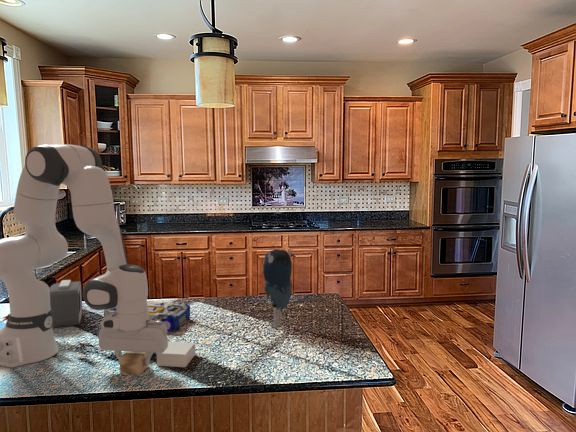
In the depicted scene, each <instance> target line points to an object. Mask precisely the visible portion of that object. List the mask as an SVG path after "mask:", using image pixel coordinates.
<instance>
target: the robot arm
mask: <svg viewBox="0 0 576 432" xmlns="http://www.w3.org/2000/svg"><path fill="white" fill-rule="evenodd" d="M23 165H24V166H23V168H22V170H21V173H20V176H19V179H18V183H17V188H16V193H15V200H14V206H13V211H12V213H13V216H14V218H15V220H16V221H17V222H18V223H20V224H21V225H23V226H25V228H26V229H25V232H24V234H23V235H16V236H10V237H9V236H8V237H4V238H0V281H1V282H2V283H3V284H4V285H5V288H6V290H7V291H6V292H7V293H8V302H9V303H8V304H9V310H10V311H9V313H8V314H7V315H5V316H4V317H2V322H4V321H6V322H5V325H4V326H3V327H2V328H1V329H0V367H7V368H17V367H20V366H23V365H27V364H34V363H37V362H41V361H42V362H43V361H45V360H47V359H50V358H51V357H52V358H53V356H55V355H57V353H58V352H59V347H58V344H57V342H56V338H55V335H54V329H53V328H54V327H52V324H53V314H52V309H51V306H50V289H49V288H50V286H49V285H48V284H47V283H46V282H45V281H43V280H39V279H37V278H36V276H35V273H34V269H37V268H42V267H46V266H51V265H54V264H55V263H58V262H60V261H62V260H64V259H65V258H66V256H67V254H68V251H69V246H68V241H67V239H66V238H65V237H64V235H62V234H61V233H60V232H59V231H58V229H57V227H56V213H57V207H58V206H57V204H58V200H59V195H60V194H59V193H60V187H61V184H63V185H64V186H65V187H67V188H68V190H69V192H70V198H71V207H72V208H71V210H72V217H73V220H74V223H75V225H76V228H78V230H79V231H81V232H82V233H84V234H86V235H87V236H88V235H89V236H91V237H94V238H95V239H97V240H98V242H100V244H101V246H102V250H103V254H104V258H105V263H106V264H105V265H106V271H105V273H104V274H102V275H101V274H100V275H98V276H96V277H95V278H92V279H91V280H89V281H87V282H86V283H85V284H84V286H83V289H82V300H84V303H85V305H87V306H88V307H89V308H90V309H92V310H95V311H104V310H105V309H111V308H116V310H117V313H114V314H112V315H110V316H108V317H106V318H105V319H104V318H103V319H102V320H100V324H99V326H100V327H101V328H100V330H99V332H98V347H99V349H100V350H101V351H114V355H115V357H116V358H117V359H118V365H119V366H120V357H121V356H122V355H123V353H122V352H127V351H131V352H146V356H147V358H145V359H144V360H143V366H148V367H149V366H150V364H151V358H152V356H153V354H157V353H163V352H164V351H165V350H166V349H167V348H168V342H169V340H168V338H169V337H168V332H167V325H166V324H165V323H163V322H162V321H153V320H149V312H148V305H147V302H148V301H147V300H148V296H149V288H148V278H147V273H146V271H145V269H144V268H143V267H141V266H139V265H137V264H129V261H128V257H127V252H126V247H125V243H124V238H123V233H122V230H121V227H120V225H119V223H118V222H119V221H118V220H117V219H118V218H117V216H116V215H117V214H116V211H115V206H114V205H115V203H114V198H113V191H112V187H111V183H110V180H109V177H108V174H107V172H106V171H105V170H104V169H103V168H102V166H103V162H102V158H101V156H100V153H98V151H97V150H96V149H94V148H91V147H89V146H86V145H76V144H69V143H68V144H67V143H64V144H63V143H62V144H39V145H36V146H33V147H32V148H29V150H28V151H27V152H26V155H25V160H24V164H23Z"/></svg>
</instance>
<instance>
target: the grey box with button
mask: <svg viewBox="0 0 576 432" xmlns="http://www.w3.org/2000/svg"><path fill="white" fill-rule="evenodd" d="M49 289H50V306H51V309H52V314H53V324H52V328H61V327H72V326H79V325H81V321H82V319H83V318H82V317H83V290H82V282H81V281H80V280H79V281H72V280H71V279H63V280H61V281H60V282H56V283H53V284H51V286H49Z"/></svg>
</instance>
